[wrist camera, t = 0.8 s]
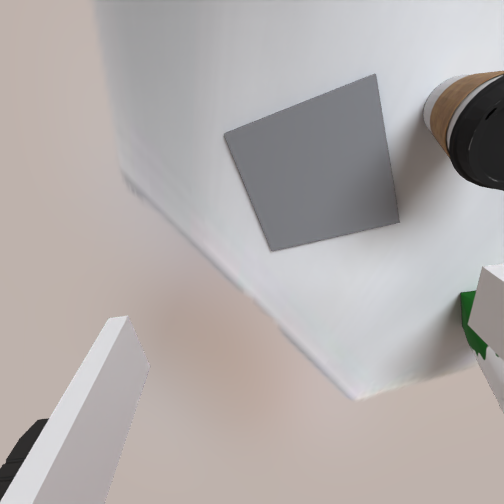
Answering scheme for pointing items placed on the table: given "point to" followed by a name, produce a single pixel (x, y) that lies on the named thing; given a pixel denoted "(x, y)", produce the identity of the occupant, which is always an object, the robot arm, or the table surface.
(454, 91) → the coffee cup
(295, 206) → the mat
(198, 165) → the table surface
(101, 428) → the robot arm
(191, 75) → the table surface
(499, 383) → the milk carton
